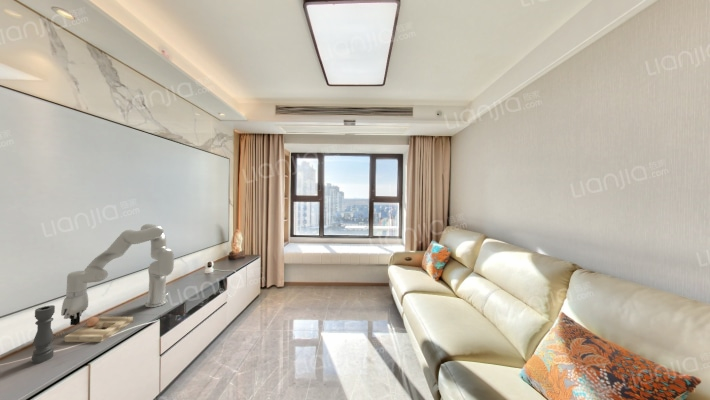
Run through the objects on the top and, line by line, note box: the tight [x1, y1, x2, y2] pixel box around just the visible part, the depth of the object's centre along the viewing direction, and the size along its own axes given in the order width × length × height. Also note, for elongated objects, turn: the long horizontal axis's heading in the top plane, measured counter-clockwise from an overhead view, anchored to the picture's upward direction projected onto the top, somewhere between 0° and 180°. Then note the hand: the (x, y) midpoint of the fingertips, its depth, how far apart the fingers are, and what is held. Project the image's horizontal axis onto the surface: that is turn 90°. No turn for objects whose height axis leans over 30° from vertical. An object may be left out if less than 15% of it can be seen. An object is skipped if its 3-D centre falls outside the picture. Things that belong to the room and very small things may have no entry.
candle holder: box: [31, 305, 56, 365], centre depth 110 cm, size 6×6×25 cm
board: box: [64, 316, 134, 343], centre depth 134 cm, size 20×18×3 cm
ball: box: [85, 316, 100, 326], centre depth 133 cm, size 5×5×5 cm
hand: (75, 324), depth 132 cm, fingers closed
